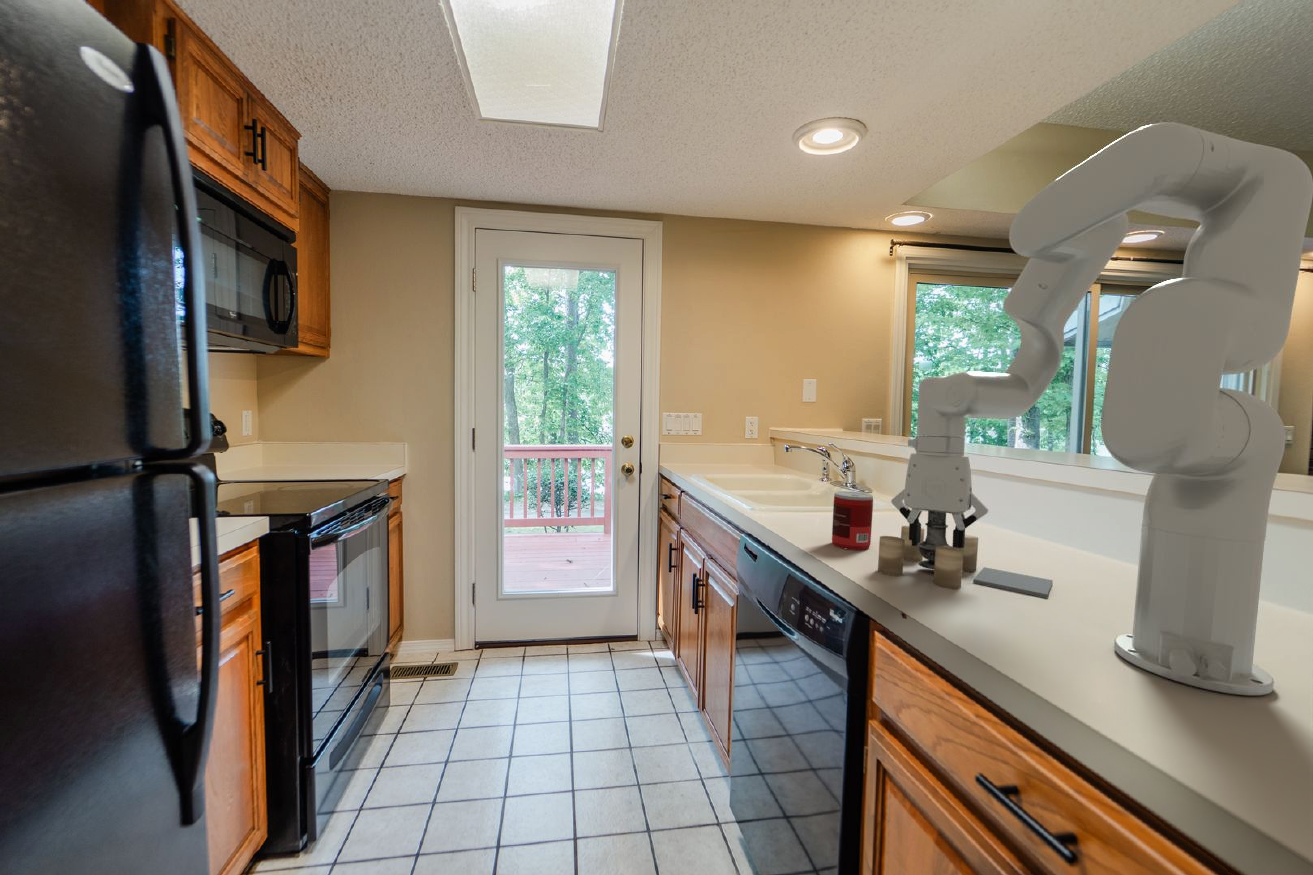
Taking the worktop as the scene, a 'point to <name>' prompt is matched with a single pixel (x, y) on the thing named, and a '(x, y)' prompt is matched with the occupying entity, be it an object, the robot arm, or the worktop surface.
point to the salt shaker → (933, 538)
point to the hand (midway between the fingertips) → (935, 547)
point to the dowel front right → (948, 567)
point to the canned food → (852, 520)
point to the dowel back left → (909, 550)
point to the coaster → (1014, 582)
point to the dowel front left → (891, 555)
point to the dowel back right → (970, 553)
